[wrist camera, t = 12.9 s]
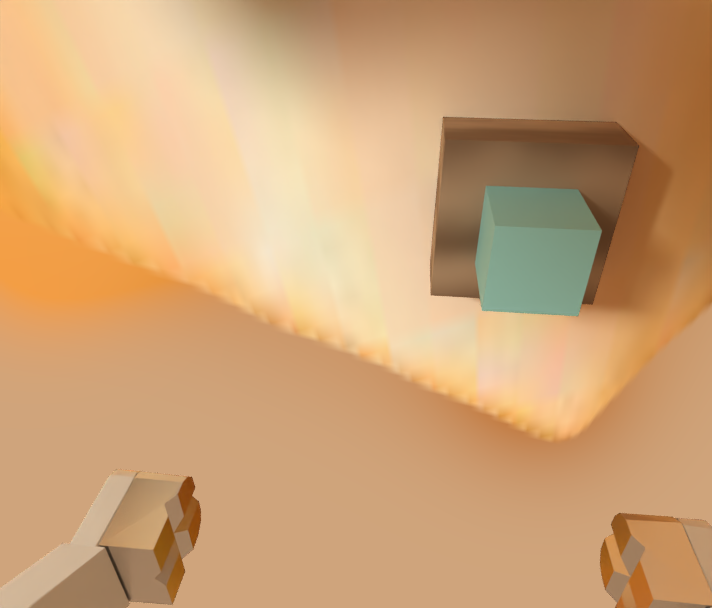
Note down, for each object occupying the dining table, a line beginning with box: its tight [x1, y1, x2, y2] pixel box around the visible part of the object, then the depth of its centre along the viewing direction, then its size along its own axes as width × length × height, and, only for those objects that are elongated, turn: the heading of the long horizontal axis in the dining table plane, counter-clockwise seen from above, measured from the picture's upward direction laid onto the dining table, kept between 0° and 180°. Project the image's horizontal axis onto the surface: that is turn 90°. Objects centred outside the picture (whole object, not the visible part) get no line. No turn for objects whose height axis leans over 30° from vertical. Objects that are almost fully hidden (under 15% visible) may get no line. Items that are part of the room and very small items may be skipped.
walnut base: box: [430, 117, 639, 304], centre depth 41 cm, size 12×12×5 cm
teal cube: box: [475, 186, 602, 316], centre depth 36 cm, size 6×6×6 cm
